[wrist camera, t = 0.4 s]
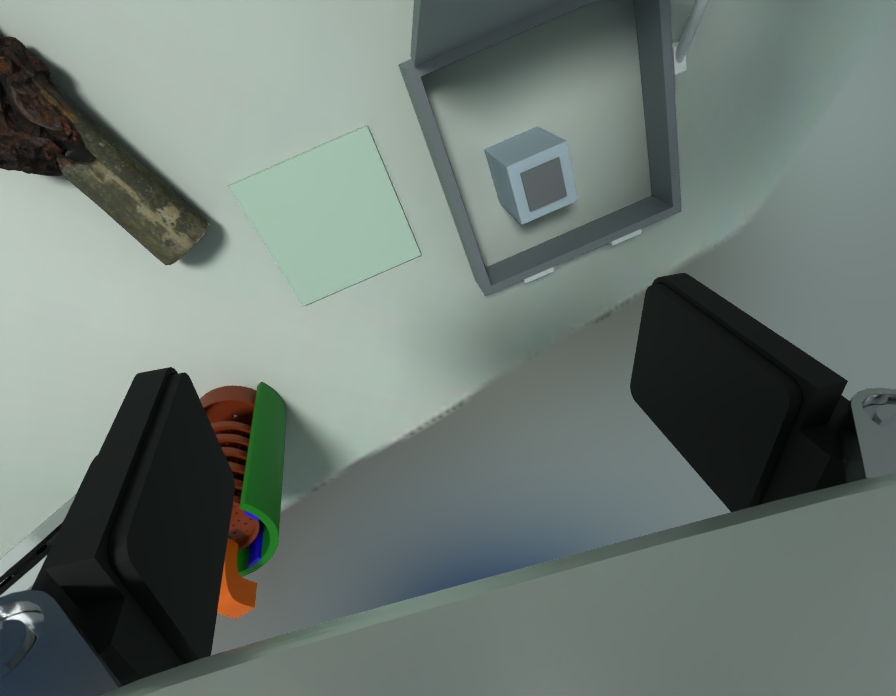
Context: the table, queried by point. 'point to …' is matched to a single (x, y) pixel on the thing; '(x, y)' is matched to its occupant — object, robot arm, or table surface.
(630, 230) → the case
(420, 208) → the table surface
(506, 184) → the module
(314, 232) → the mat
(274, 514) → the motor
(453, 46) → the lid
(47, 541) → the hinge
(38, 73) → the brown rough-headed cylinder
